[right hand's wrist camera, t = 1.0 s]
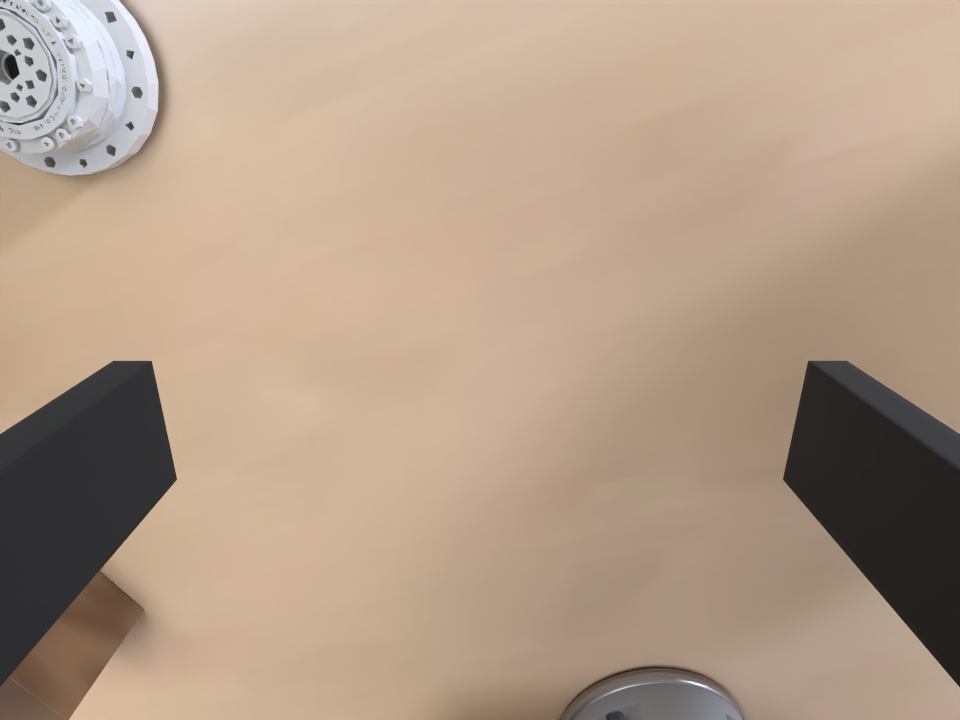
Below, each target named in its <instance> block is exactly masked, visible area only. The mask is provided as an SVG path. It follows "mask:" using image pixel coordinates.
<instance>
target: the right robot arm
mask: <svg viewBox="0 0 960 720" xmlns="http://www.w3.org/2000/svg"><path fill="white" fill-rule="evenodd" d="M176 480H177V477H176V473H175V468H174V463H173V459H172V454H171V449H170V445H169V440H168V435H167V431H166V426H165V421H164V417H163V412H162V407H161V403H160V398H159V393H158V388H157V384H156V379H155V374H154V370H153V365H152V361H113V362H111V363H109V364H108V365H106V366H105V367H103V368H102V369H100V370H99V371H97V372H96V373H94V374H92V375H91V376H89V377H88V378H86V379H85V380H83V381H82V382H80V383H79V384H77V385H76V386H74V387H72V388H71V389H69V390H68V391H66V392H65V393H63V394H62V395H60V396H59V397H57V398H55V399H54V400H52V401H51V402H49V403H48V404H46V405H45V406H43V407H42V408H40V409H38V410H37V411H35V412H34V413H32V414H31V415H29V416H28V417H26V418H25V419H23V420H22V421H20V422H18V423H17V424H15V425H14V426H12V427H11V428H9V429H8V430H6V431H5V432H3V433H1V434H0V687H1V686H2V684H3V683H4V682H5V681H6V680H7V679H8V677H9V676H10V675H11V674H12V673H13V672H14V670H15V669H16V668H17V667H18V666H19V664H20V663H21V662H22V661H23V660H24V659H25V657H26V656H27V655H28V654H29V653H30V652H31V650H32V649H33V648H34V647H35V646H36V645H37V643H38V642H39V641H40V640H41V639H42V637H43V636H44V635H45V634H46V633H47V632H48V630H49V629H50V628H51V627H52V626H53V625H54V623H55V622H56V621H57V620H58V619H59V617H60V616H61V615H62V614H63V613H64V612H65V610H66V609H67V608H68V607H69V606H70V605H71V603H72V602H73V601H74V600H75V599H76V597H77V596H78V595H79V594H80V593H81V592H82V590H83V589H84V588H85V587H86V586H87V585H88V583H89V582H90V581H91V580H92V579H93V578H94V576H95V575H96V574H97V573H98V572H99V570H100V569H101V568H102V567H103V566H104V565H105V563H106V562H107V561H108V560H109V559H110V558H111V556H112V555H113V554H114V553H115V552H116V550H117V549H118V548H119V547H120V546H121V545H122V543H123V542H124V541H125V540H126V539H127V538H128V536H129V535H130V534H131V533H132V532H133V531H134V529H135V528H136V527H137V526H138V525H139V523H140V522H141V521H142V520H143V519H144V518H145V516H146V515H147V514H148V513H149V512H150V511H151V509H152V508H153V507H154V506H155V505H156V503H157V502H158V501H159V500H160V499H161V498H162V496H163V495H164V494H165V493H166V492H167V491H168V489H169V488H170V487H171V486H172V485H173V484H174V482H175V481H176ZM783 480H784V481H785V482H786V484H787V485H788V486H789V487H790V488H791V489H792V491H793V492H794V493H795V494H796V495H797V496H798V498H799V499H800V500H801V501H802V502H803V503H804V505H805V506H806V507H807V508H808V509H809V511H810V512H811V513H812V514H813V515H814V516H815V518H816V519H817V520H818V521H819V522H820V523H821V525H822V526H823V527H824V528H825V529H826V531H827V532H828V533H829V534H830V535H831V536H832V538H833V539H834V540H835V541H836V542H837V543H838V545H839V546H840V547H841V548H842V549H843V550H844V552H845V553H846V554H847V555H848V556H849V558H850V559H851V560H852V561H853V562H854V563H855V565H856V566H857V567H858V568H859V569H860V570H861V572H862V573H863V574H864V575H865V576H866V578H867V579H868V580H869V581H870V582H871V583H872V585H873V586H874V587H875V588H876V589H877V590H878V592H879V593H880V594H881V595H882V596H883V598H884V599H885V600H886V601H887V602H888V603H889V605H890V606H891V607H892V608H893V609H894V610H895V612H896V613H897V614H898V615H899V616H900V617H901V619H902V620H903V621H904V622H905V623H906V625H907V626H908V627H909V628H910V629H911V630H912V632H913V633H914V634H915V635H916V636H917V637H918V639H919V640H920V641H921V642H922V643H923V645H924V646H925V647H926V648H927V649H928V650H929V652H930V653H931V654H932V655H933V656H934V657H935V659H936V660H937V661H938V662H939V663H940V664H941V666H942V667H943V668H944V669H945V670H946V672H947V673H948V674H949V675H950V676H951V677H952V679H953V680H954V681H955V682H956V683H957V684H958V686H959V687H960V434H959V433H957V432H955V431H954V430H952V429H951V428H949V427H948V426H946V425H945V424H943V423H942V422H940V421H938V420H937V419H935V418H934V417H932V416H931V415H929V414H928V413H926V412H925V411H923V410H921V409H920V408H918V407H917V406H915V405H914V404H912V403H911V402H909V401H908V400H906V399H905V398H903V397H901V396H900V395H898V394H897V393H895V392H894V391H892V390H891V389H889V388H888V387H886V386H884V385H883V384H881V383H880V382H878V381H877V380H875V379H874V378H872V377H871V376H869V375H867V374H866V373H864V372H863V371H861V370H860V369H858V368H857V367H855V366H854V365H852V364H851V363H849V362H847V361H808V365H807V370H806V374H805V379H804V384H803V388H802V393H801V398H800V403H799V407H798V412H797V417H796V421H795V426H794V431H793V435H792V440H791V445H790V449H789V454H788V459H787V463H786V468H785V473H784V477H783ZM561 720H744V719H743V717H742V715H741V713H740V710H739V708H738V706H737V704H736V703H735V701H734V699H733V698H732V697H731V696H730V695H729V693H728V692H726V691H725V690H724V689H723V688H722V687H721V686H719V685H718V684H716V683H715V682H713V681H711V680H709V679H707V678H705V677H703V676H700V675H697V674H695V673H691V672H687V671H682V670H677V669H665V668H653V669H641V670H635V671H630V672H626V673H622V674H618V675H616V676H613V677H610V678H608V679H605V680H603V681H601V682H599V683H597V684H595V685H593V686H592V687H590V688H589V689H587V690H586V691H584V692H583V693H582V694H580V695H579V696H578V697H577V698H576V699H575V700H574V701H573V702H572V703H571V704H570V705H569V707H568V708H567V709H566V711H565V712H564V714H563V716H562V718H561Z"/></svg>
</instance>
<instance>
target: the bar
mask: <svg viewBox="0 0 960 720" xmlns="http://www.w3.org/2000/svg"><path fill="white" fill-rule="evenodd" d="M142 612H143V609H142V608H141V607H140V606H139V605H138V604H136V603H135V602H134V601H133V600H132V599H131V598H130V597H128V596H127V595H126V594H125V593H124V592H123V591H121V590H120V589H119V588H118V587H117V586H116V585H115V584H113V583H112V582H111V581H110V580H109V579H108V578H107V577H105V576H104V575H103V574H102V573H101V572H100V571H99V572H98V573H97V574H96V575H95V576H94V578H93V579H92V580H91V581H90V582H89V583H88V585H87V586H86V587H85V588H84V589H83V590H82V592H81V593H80V594H79V595H78V596H77V597H76V599H75V600H74V601H73V602H72V603H71V605H70V606H69V607H68V608H67V609H66V610H65V612H64V613H63V614H62V615H61V616H60V617H59V619H58V620H57V621H56V622H55V623H54V625H53V626H52V627H51V628H50V629H49V630H48V632H47V633H46V634H45V635H44V636H43V637H42V639H41V640H40V641H39V642H38V643H37V645H36V646H35V647H34V648H33V649H32V650H31V652H30V653H29V654H28V655H27V656H26V657H25V659H24V660H23V661H22V662H21V663H20V664H19V666H18V667H17V668H16V669H15V670H14V672H13V673H12V674H11V675H10V676H9V677H8V679H7V680H6V681H5V682H4V683H3V684H2V686H1V687H0V720H69V718H70V717H71V715H72V714H73V713H74V711H75V710H76V708H77V707H78V705H79V704H80V702H81V701H82V699H83V698H84V696H85V695H86V694H87V692H88V691H89V689H90V688H91V686H92V685H93V683H94V682H95V680H96V679H97V677H98V676H99V675H100V673H101V672H102V670H103V669H104V667H105V666H106V664H107V663H108V661H109V660H110V658H111V657H112V656H113V654H114V653H115V651H116V650H117V648H118V647H119V645H120V644H121V642H122V641H123V639H124V638H125V637H126V635H127V634H128V632H129V631H130V629H131V628H132V626H133V625H134V623H135V622H136V620H137V619H138V618H139V616H140V615H141V613H142Z"/></svg>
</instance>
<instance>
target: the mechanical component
mask: <svg viewBox="0 0 960 720" xmlns="http://www.w3.org/2000/svg"><path fill="white" fill-rule="evenodd" d="M158 86H159V83H158V78H157V73H156V68H155V62H154V59H153V56H152V53H151V50H150V48H149V45H148V42H147V40H146V38H145V36H144V34H143V32H142V31H141V29H140V27H139V25H138V24H137V22H136V20H135V19H134V18H133V16H132V15H131V14H130V13H129V12H128V10H127V9H126V8H125V7H124V6H123V5H122V3H121V2H120V1H119V0H0V149H1V150H2V151H4V152H6V153H7V154H9V155H10V156H12V157H13V158H15V159H17V160H18V161H20V162H21V163H23V164H25V165H28V166H30V167H33V168H36V169H39V170H42V171H45V172H48V173H53V174H61V175H68V176H71V175H83V174H94V173H98V172H101V171H105V170H109V169H112V168H116V167H118V166H119V165H121V164H122V163H123V162H125V161H126V160H128V159H129V158H130V157H132V156H133V155H135V154H136V153H137V152H138V151H139V149H140V148H141V147H142V145H143V144H144V142H145V141H146V139H147V138H148V136H149V135H150V133H151V130H152V127H153V124H154V121H155V118H156V115H157V112H158Z"/></svg>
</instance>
